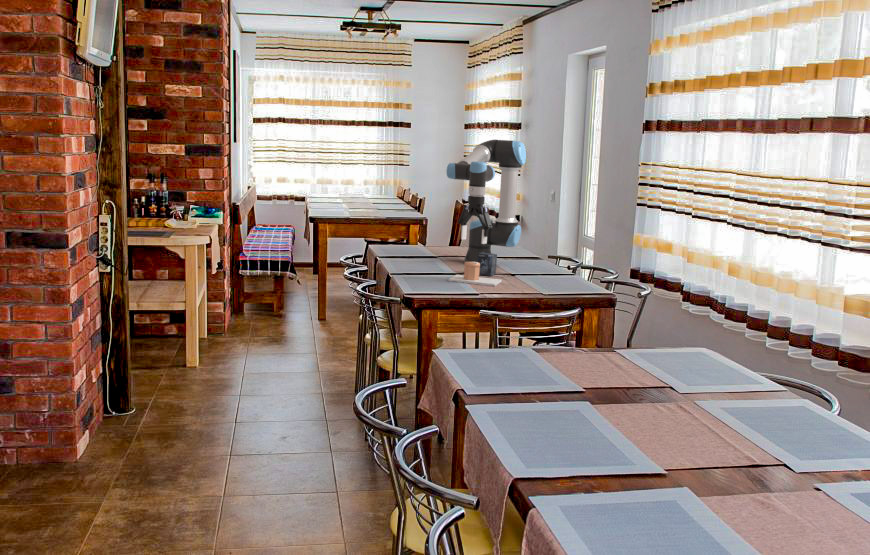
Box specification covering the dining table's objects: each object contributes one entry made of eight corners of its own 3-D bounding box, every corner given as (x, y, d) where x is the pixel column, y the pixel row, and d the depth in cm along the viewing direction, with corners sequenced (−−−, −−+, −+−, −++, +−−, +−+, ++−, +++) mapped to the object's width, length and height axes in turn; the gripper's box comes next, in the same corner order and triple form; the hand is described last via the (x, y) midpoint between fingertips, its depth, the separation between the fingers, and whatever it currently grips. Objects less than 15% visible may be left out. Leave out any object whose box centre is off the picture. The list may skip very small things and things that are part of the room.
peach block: (460, 278, 394) (461, 260, 393) (471, 276, 399) (472, 260, 398) (471, 280, 389) (472, 263, 388) (482, 279, 394) (483, 262, 392)
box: (476, 274, 412) (477, 253, 410) (481, 273, 417) (482, 251, 415) (490, 276, 408) (492, 255, 406) (495, 275, 413) (497, 253, 411)
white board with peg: (456, 276, 403) (457, 263, 402) (501, 281, 396) (502, 268, 395) (448, 281, 391) (449, 267, 390) (494, 286, 384) (495, 272, 383)
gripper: (452, 193, 394) (449, 238, 398) (490, 198, 375) (487, 245, 379) (463, 192, 399) (461, 237, 402) (501, 198, 380) (498, 244, 384)
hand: (473, 241), depth 391 cm, fingers open, 13 cm apart
